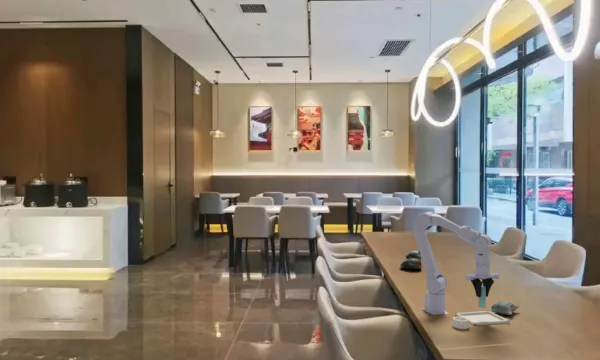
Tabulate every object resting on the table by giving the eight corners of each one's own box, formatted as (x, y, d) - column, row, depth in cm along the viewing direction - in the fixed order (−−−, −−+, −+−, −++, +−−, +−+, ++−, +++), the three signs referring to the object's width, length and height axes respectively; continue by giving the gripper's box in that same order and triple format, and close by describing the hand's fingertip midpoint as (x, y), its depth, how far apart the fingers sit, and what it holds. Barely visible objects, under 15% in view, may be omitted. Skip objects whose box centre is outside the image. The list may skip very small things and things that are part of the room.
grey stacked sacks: (395, 268, 313) (399, 247, 319) (410, 274, 317) (413, 254, 323) (410, 265, 301) (414, 244, 306) (426, 272, 305) (429, 250, 310)
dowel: (477, 306, 207) (477, 285, 207) (483, 305, 208) (483, 285, 207) (480, 308, 204) (481, 287, 204) (487, 307, 205) (487, 287, 205)
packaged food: (518, 312, 219) (518, 301, 219) (511, 318, 209) (511, 306, 209) (498, 309, 224) (498, 298, 224) (490, 315, 215) (490, 303, 215)
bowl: (449, 326, 198) (449, 317, 198) (463, 325, 200) (463, 316, 200) (457, 330, 193) (458, 321, 192) (471, 329, 194) (471, 320, 194)
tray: (455, 316, 211) (455, 313, 211) (488, 314, 215) (488, 310, 215) (474, 326, 198) (474, 323, 197) (509, 324, 201) (509, 320, 201)
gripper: (472, 266, 200) (471, 299, 200) (503, 265, 203) (503, 297, 204) (462, 263, 207) (462, 295, 207) (493, 261, 210) (492, 293, 211)
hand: (482, 296), depth 206 cm, fingers closed on dowel, 3 cm apart
